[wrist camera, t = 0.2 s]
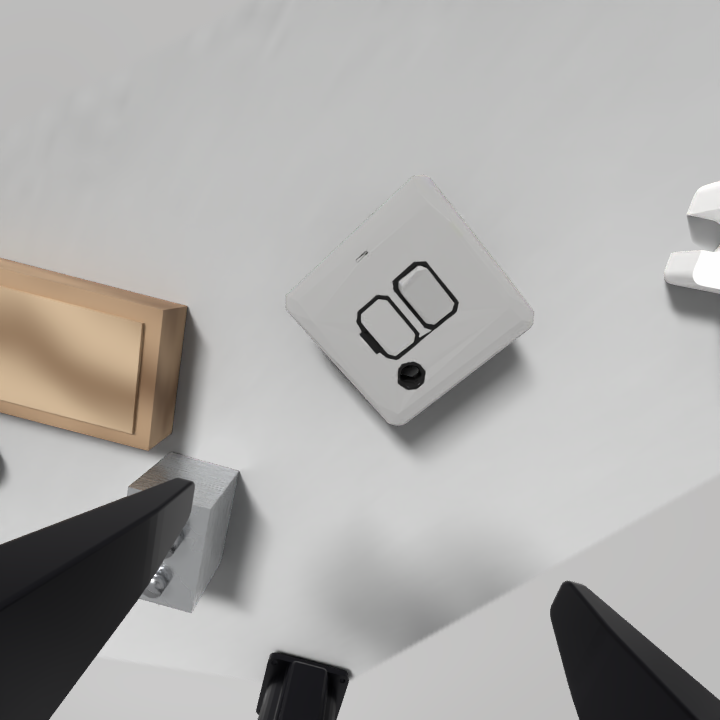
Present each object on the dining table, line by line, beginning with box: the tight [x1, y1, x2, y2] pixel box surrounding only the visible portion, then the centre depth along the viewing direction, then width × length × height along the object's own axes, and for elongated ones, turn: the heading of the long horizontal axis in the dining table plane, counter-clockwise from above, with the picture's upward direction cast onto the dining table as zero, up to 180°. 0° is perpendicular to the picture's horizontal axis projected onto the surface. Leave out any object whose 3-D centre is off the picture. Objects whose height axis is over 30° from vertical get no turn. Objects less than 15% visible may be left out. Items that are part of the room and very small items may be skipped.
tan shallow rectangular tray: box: [0, 258, 187, 451], centre depth 22 cm, size 9×14×3 cm, turn 76°
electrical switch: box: [286, 175, 534, 426], centre depth 19 cm, size 9×5×9 cm
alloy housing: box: [127, 452, 239, 613], centre depth 23 cm, size 8×5×5 cm, turn 165°
